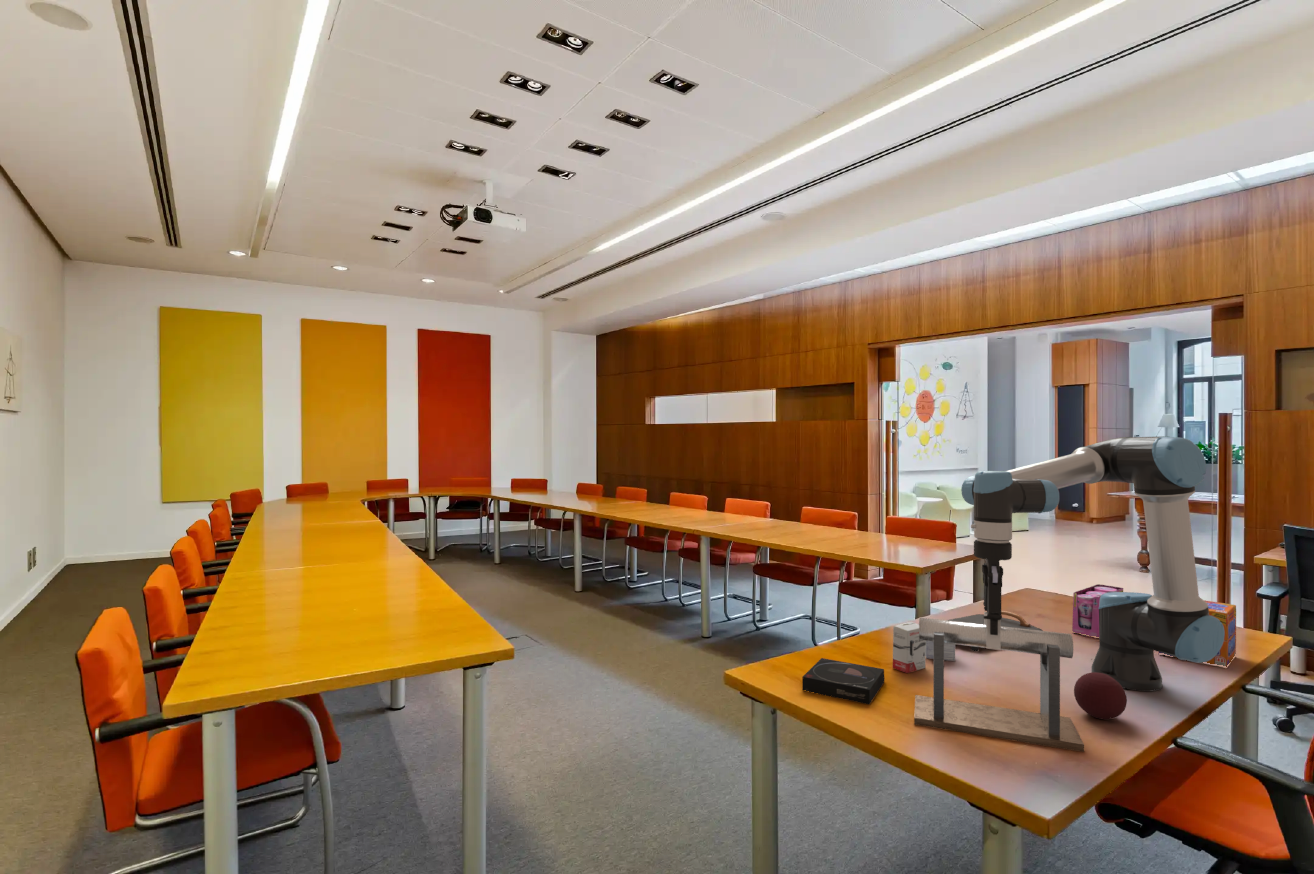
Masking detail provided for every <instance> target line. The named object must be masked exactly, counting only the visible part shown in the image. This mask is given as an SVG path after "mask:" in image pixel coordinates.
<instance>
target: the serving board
mask: <svg viewBox="0 0 1314 874" xmlns="http://www.w3.org/2000/svg"><path fill="white" fill-rule="evenodd" d="M1001 615H1002V619H1000V620H1001V626H1003V627H1012V628H1021V629H1030V630H1039V631H1044V630H1043V629H1042V628H1040V627H1036V626H1034V625H1031V624H1030V623H1029V622H1027V621H1026V620H1025V618H1023V617H1022V616H1021V615H1019V614H1017V613H1015V612H1012V611H1007V610H1001ZM1003 616H1009V617H1012V618H1015V620H1014V619H1012V618H1006V617H1003ZM1016 619H1017V620H1016ZM947 620H948V621H957V622H966V623H975V624H984V613H979V614H978V613H977V614H972V615H966V616H962V617H956V618H951V619H947ZM979 648H980V647H975V646H970V651H972V652H979V650H980V649H979Z"/></svg>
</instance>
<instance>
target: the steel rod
mask: <svg viewBox="0 0 1314 874" xmlns="http://www.w3.org/2000/svg"><path fill="white" fill-rule="evenodd" d="M918 619H919V620H918V621H919V623H918V624H919V640H926V641H934V632H942V633H944V643H950V644H955V645H960V646H969V647H971V646H975V647H978V648H982V649H983V648H984V649H985V648H986V625H985V624H975V623H966V622H957V621H948V620H949V619H938V618H930V617H929V618H928V617H919V618H918ZM1047 644H1051V645H1058V646H1059V648H1060V658H1066V659H1073V656H1074V641H1073V635H1072V634H1071V633H1064V632H1056V631H1046V630H1043V631H1039V630H1030V629H1021V628H1012V627H1003V626H1001V632H1000V650H999V651H1009V652H1017V653H1025V654H1034V655H1039V656H1040V655H1047ZM986 649H987V648H986Z"/></svg>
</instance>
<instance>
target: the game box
mask: <svg viewBox="0 0 1314 874" xmlns="http://www.w3.org/2000/svg"><path fill="white" fill-rule="evenodd" d="M1203 600H1204V599H1203ZM1204 601H1205V602H1207V604H1208V609H1209V615H1210V616H1213V617H1215V618H1217V619H1219V620H1220V622H1221V623H1222V624H1223V627H1224V631H1225V636H1224V642H1223V645H1222V647H1221V649H1220V650H1219V652H1218V653H1217V655H1216V656H1215V657H1213V658H1212V659H1211V660H1209V661H1207V663H1210V664H1217V665H1223V666H1226V667H1227V665H1228V664H1229V663H1230V662H1231V660H1232V659H1233V657H1234V656H1235V654H1236V655H1237V605H1236V604H1232V603H1224V602H1218V601H1211V600H1204ZM1159 653H1161V652H1158V654H1159ZM1231 663H1232V662H1231Z"/></svg>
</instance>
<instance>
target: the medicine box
mask: <svg viewBox="0 0 1314 874" xmlns="http://www.w3.org/2000/svg"><path fill="white" fill-rule="evenodd" d="M925 659H930V660H931V659H932V660H934V641H926V657H925ZM944 661H949V662H950V661H952V662H956V644H950V643H944Z"/></svg>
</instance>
